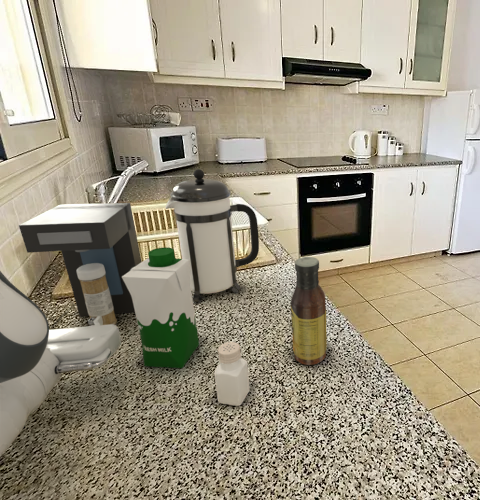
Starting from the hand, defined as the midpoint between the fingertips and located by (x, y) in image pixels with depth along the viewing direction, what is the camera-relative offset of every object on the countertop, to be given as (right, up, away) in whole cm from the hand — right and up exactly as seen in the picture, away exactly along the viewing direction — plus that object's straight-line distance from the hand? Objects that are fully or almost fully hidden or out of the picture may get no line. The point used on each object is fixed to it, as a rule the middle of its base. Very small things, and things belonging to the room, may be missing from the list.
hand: (67, 322), depth 64 cm
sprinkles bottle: (-3, -4, +14) cm, 14 cm away
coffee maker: (-3, -3, +15) cm, 15 cm away
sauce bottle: (+41, -8, +6) cm, 42 cm away
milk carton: (+16, -7, +5) cm, 18 cm away
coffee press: (+15, +3, +31) cm, 34 cm away
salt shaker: (+30, -11, -4) cm, 32 cm away
